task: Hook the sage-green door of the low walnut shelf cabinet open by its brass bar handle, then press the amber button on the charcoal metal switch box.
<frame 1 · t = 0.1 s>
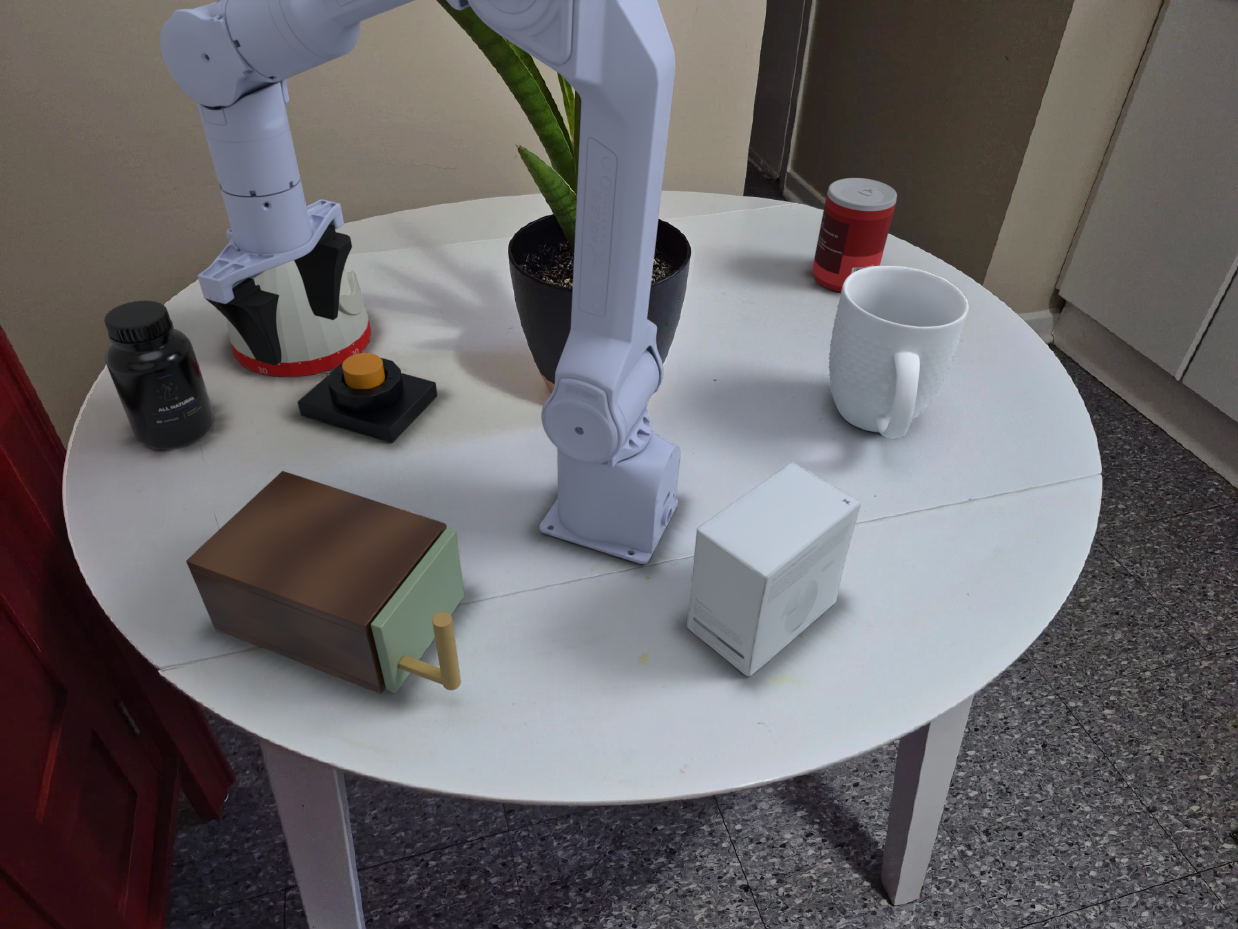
hand: (298, 337, 73), 10 cm above the table, tool pointing down, fingers open, 7 cm apart
canned food: (842, 279, 105), on the table
supplement bottle: (177, 429, 80), on the table
kitchen timer: (303, 340, 91), on the table
button: (363, 371, 80), point 4 cm above the table, slide at 0.1 cm
cosmetics box: (759, 616, 65), on the table
mug: (873, 420, 84), on the table
shelf cabinet: (338, 609, 64), on the table
shelf door: (448, 612, 59), point 4 cm above the table, hinge at 0.0°
switch box: (370, 406, 83), on the table
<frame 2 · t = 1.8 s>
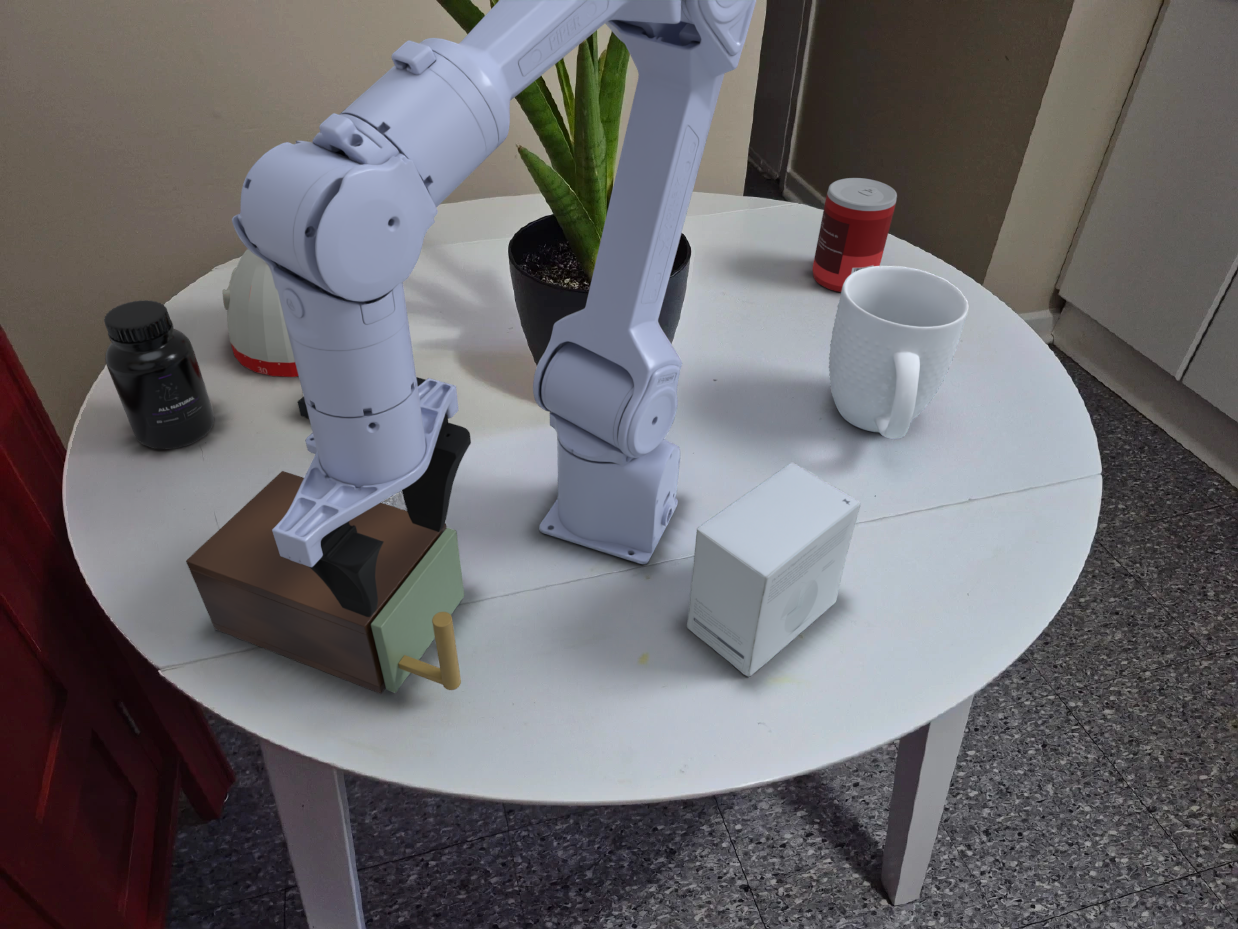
hand: (395, 564, 54), 10 cm above the table, tool pointing down, fingers open, 7 cm apart
nothing on the table moved.
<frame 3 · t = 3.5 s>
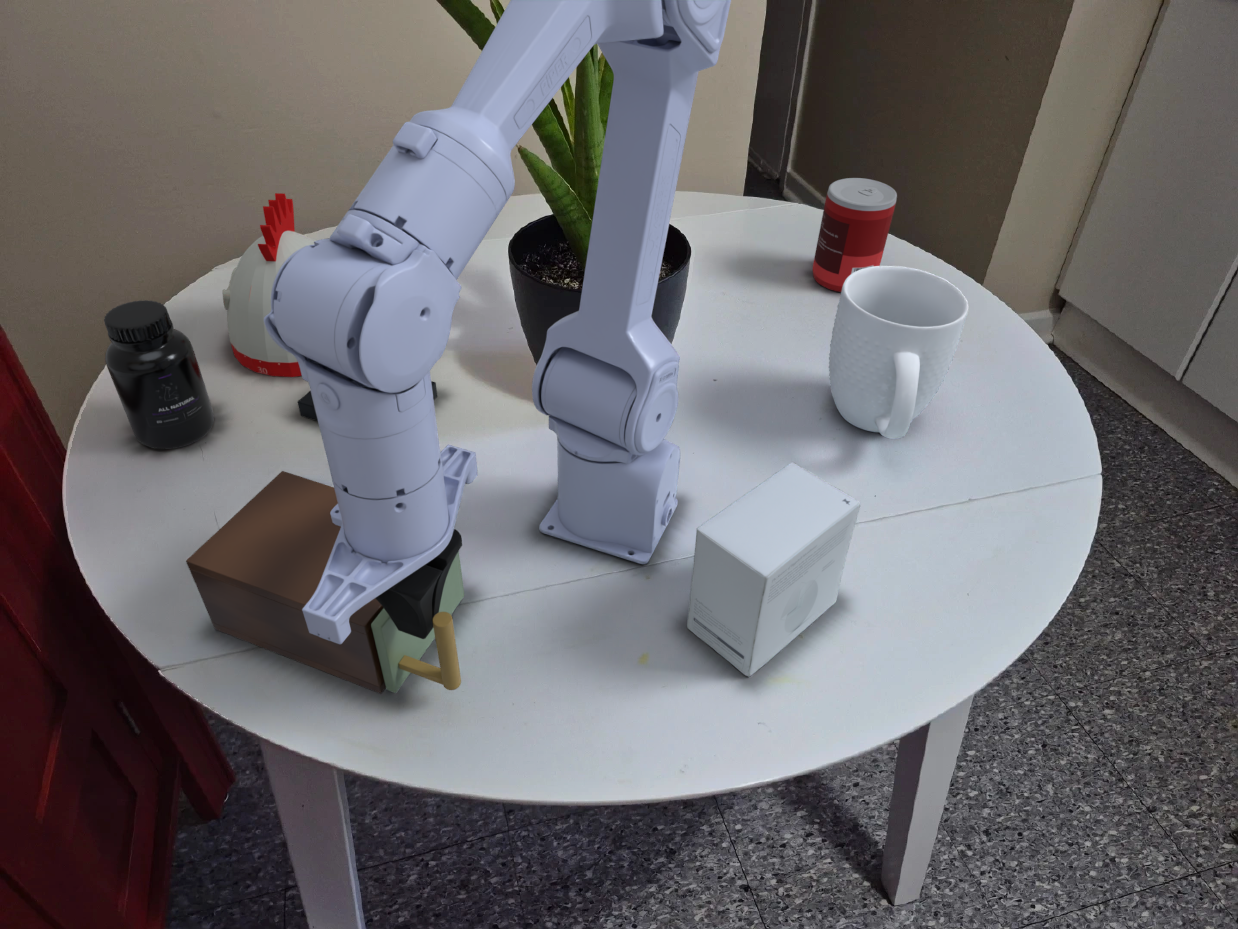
hand: (416, 626, 55), 7 cm above the table, tool pointing down, fingers closed, pressing on shelf door
shelf door: (449, 612, 59), point 4 cm above the table, hinge at 0.1°, touching gripper
everything else where it was.
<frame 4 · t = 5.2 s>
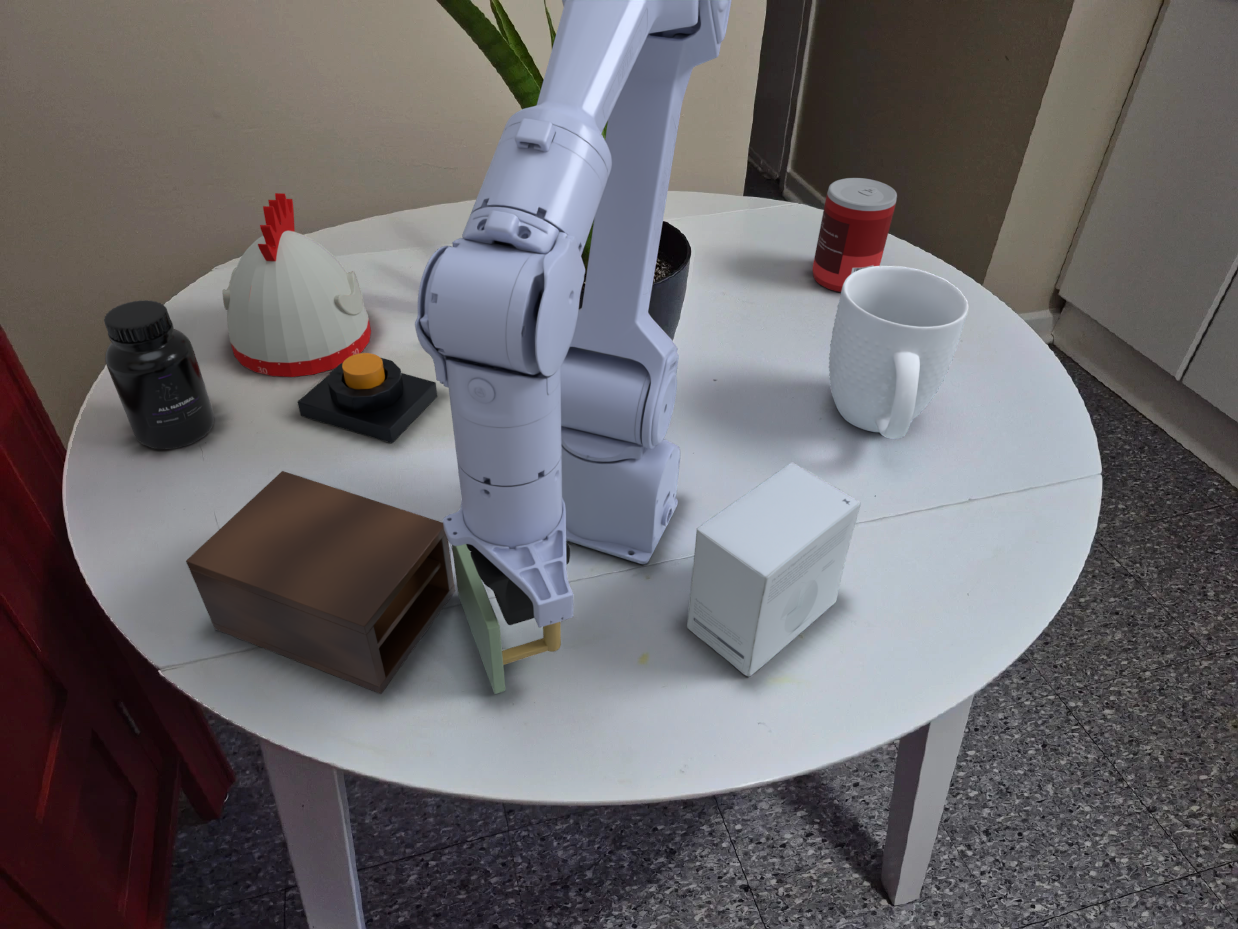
hand: (519, 612, 56), 6 cm above the table, tool pointing down, fingers closed, pressing on shelf door
shelf door: (507, 594, 60), point 4 cm above the table, hinge at 44.7°, touching gripper
everything else where it was.
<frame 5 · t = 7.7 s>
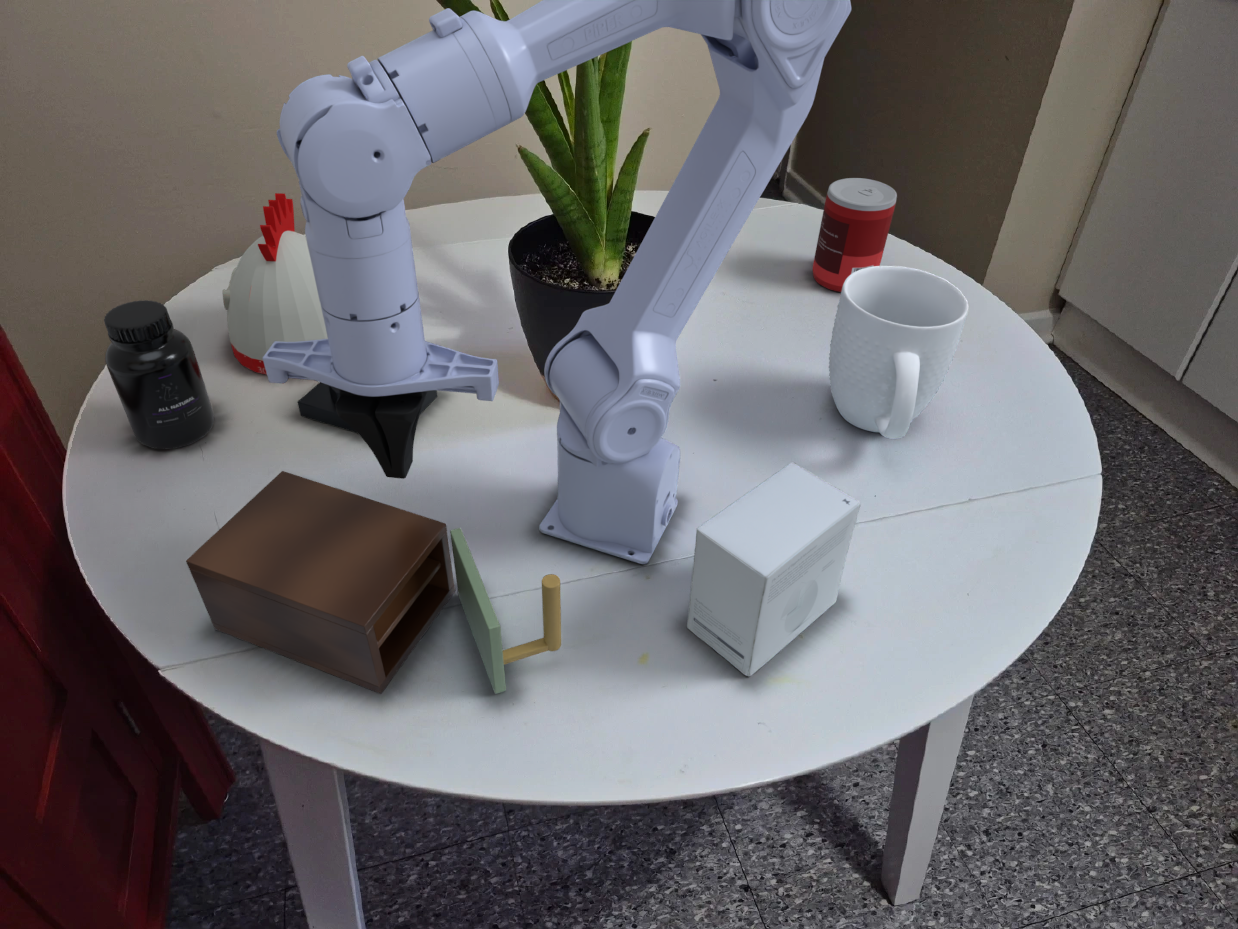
hand: (399, 468, 61), 10 cm above the table, tool pointing down, fingers closed
shelf door: (507, 593, 60), point 4 cm above the table, hinge at 44.9°
everything else where it was.
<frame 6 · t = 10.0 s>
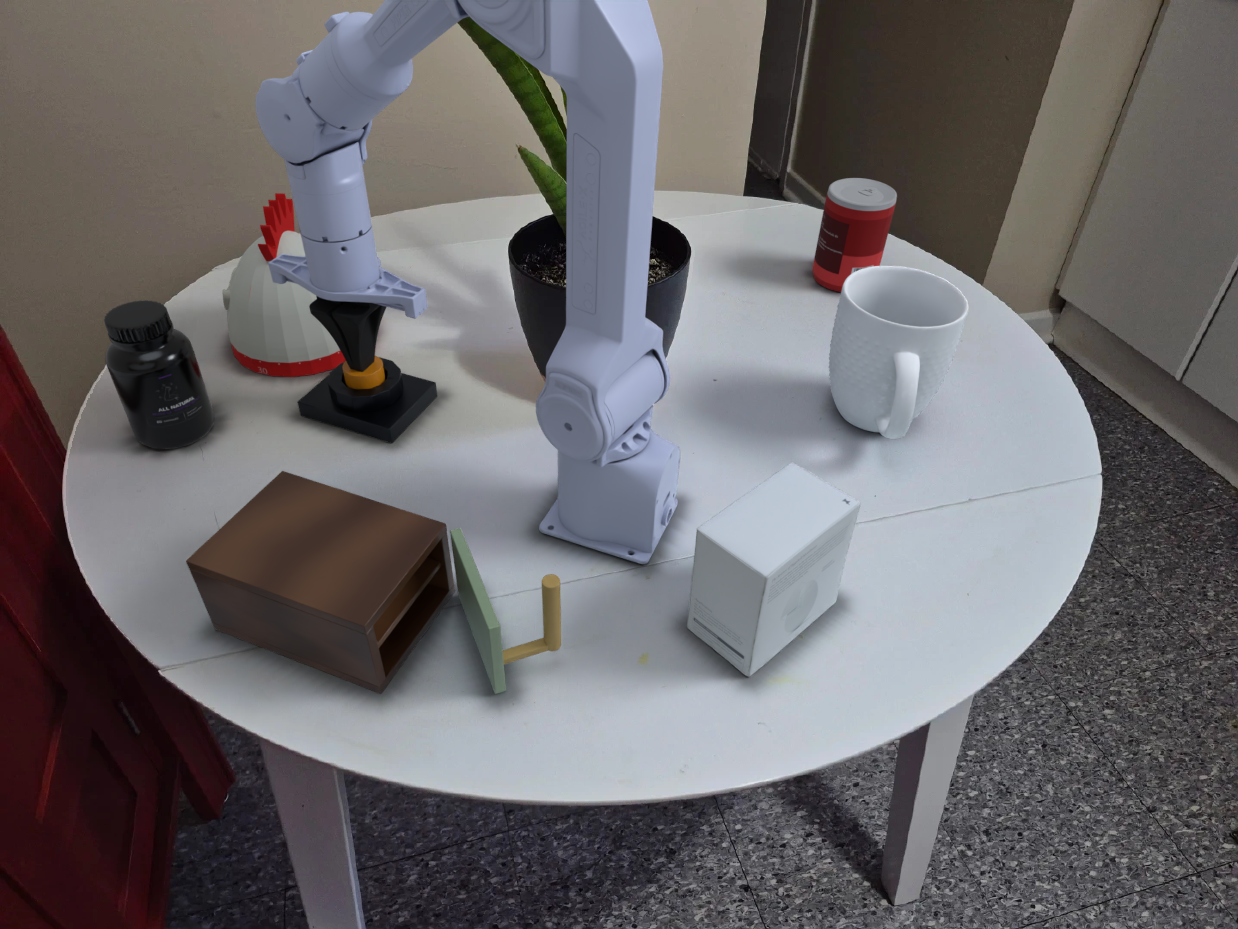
hand: (362, 365, 80), 5 cm above the table, tool pointing down, fingers closed, pressing on button
button: (364, 372, 80), point 4 cm above the table, slide at 0.0 cm, touching gripper
everything else where it was.
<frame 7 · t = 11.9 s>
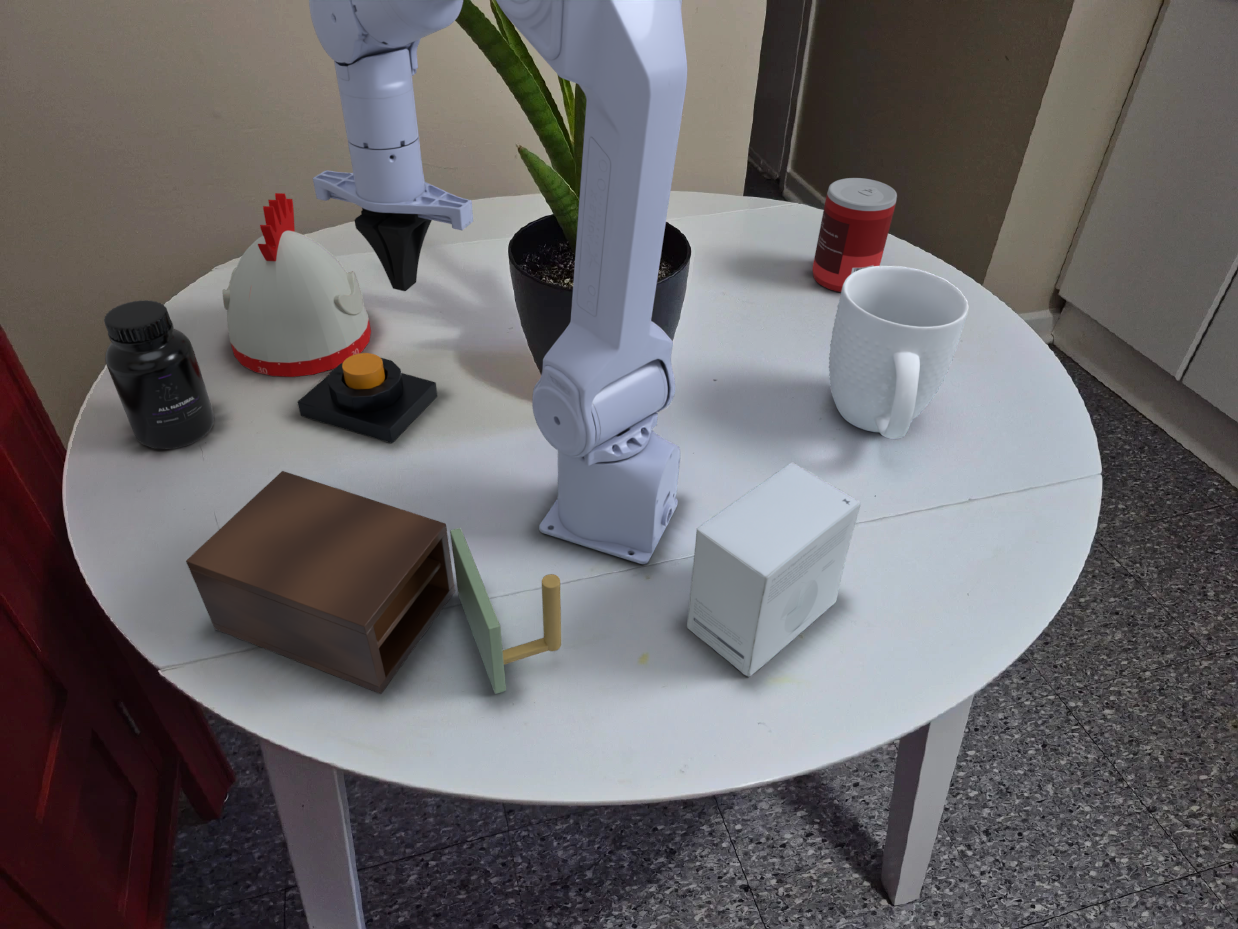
hand: (404, 285, 80), 10 cm above the table, tool pointing down, fingers closed
button: (363, 371, 80), point 4 cm above the table, slide at 0.1 cm
everything else where it was.
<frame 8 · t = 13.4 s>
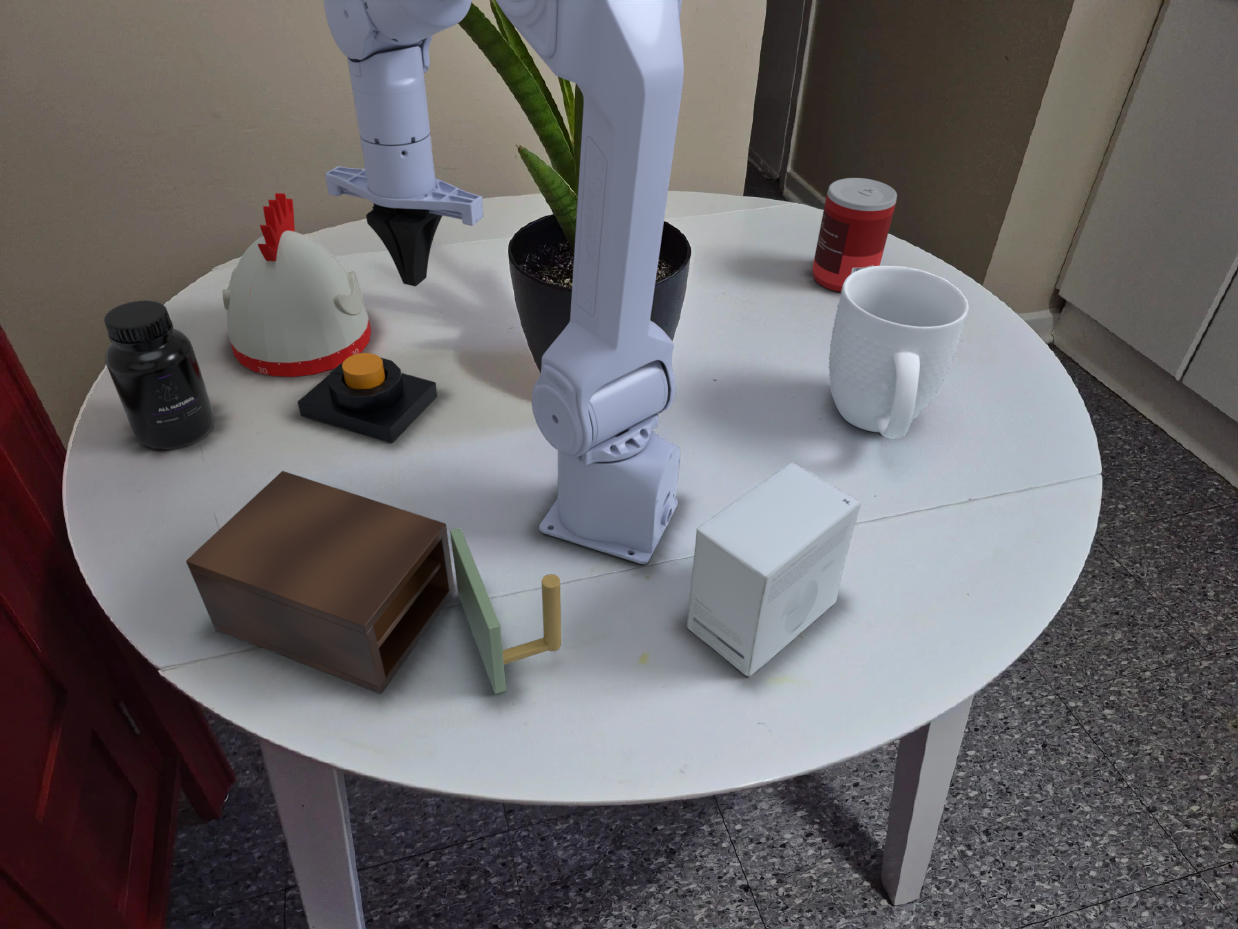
hand: (414, 280, 81), 10 cm above the table, tool pointing down, fingers closed
nothing on the table moved.
at the end: shelf door at +45° (first picture: +0°); button pushed in 1.2 cm at the most during the clip, back to where it started at the end; button slide at 0.1 cm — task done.
